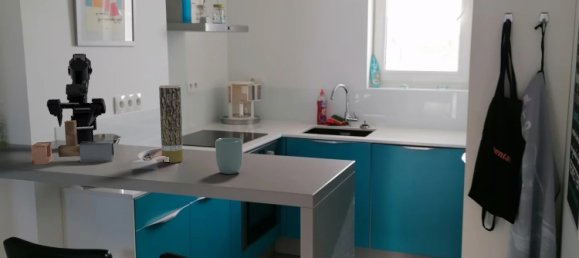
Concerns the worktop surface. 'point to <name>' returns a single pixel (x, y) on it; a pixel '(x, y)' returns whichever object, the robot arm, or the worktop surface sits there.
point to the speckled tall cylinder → (171, 122)
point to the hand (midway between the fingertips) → (74, 125)
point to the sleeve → (96, 151)
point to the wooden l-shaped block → (70, 141)
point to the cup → (229, 155)
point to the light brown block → (41, 153)
